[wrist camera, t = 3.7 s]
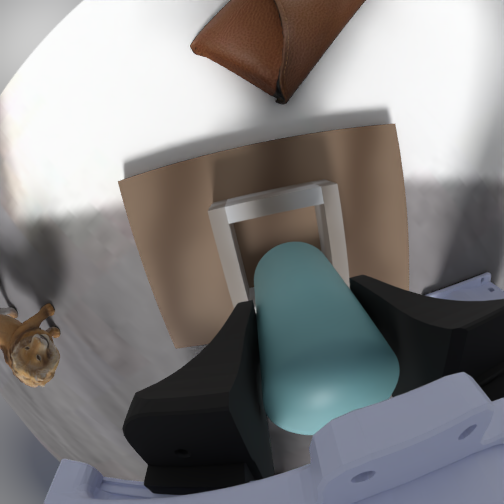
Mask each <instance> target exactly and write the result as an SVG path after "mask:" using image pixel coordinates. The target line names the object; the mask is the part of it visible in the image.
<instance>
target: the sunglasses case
mask: <svg viewBox="0 0 504 504" xmlns="http://www.w3.org/2000/svg"><path fill="white" fill-rule="evenodd" d="M365 1H366V0H230V1H229V2H228V3H227V4H226V5H225V6H224V7H223V8H222V9H221V10H220V11H219V12H218V13H217V15H216V16H215V17H214V18H213V19H212V20H211V21H210V22H209V23H208V24H207V25H206V26H205V27H204V28H203V30H202V31H201V32H200V33H199V34H198V35H197V36H196V38H195V40H194V41H193V42H192V44H191V45H190V47H191V49H192V51H193V52H194V53H195V54H196V55H200V56H203V57H207V58H209V59H211V60H212V61H214V62H216V63H218V64H220V65H221V66H223V67H225V68H227V69H228V70H230V71H232V72H234V73H235V74H237V75H238V76H241V77H242V78H243V79H245V80H247V81H249V82H250V83H251V84H253V85H255V86H256V87H258V88H260V89H261V90H263V91H264V92H266V93H268V94H269V95H271V96H274V97H276V98H277V100H276V103H279V104H286V103H287V102H288V101H289V99H290V98H291V96H292V95H293V94H294V92H295V91H296V90H297V89H298V87H299V86H300V85H301V83H302V82H303V81H304V79H305V78H306V77H307V75H308V74H309V73H310V71H311V70H312V69H313V67H314V66H315V65H316V63H317V62H318V61H319V59H320V58H321V57H322V55H323V54H324V53H325V52H326V50H327V49H328V48H329V46H330V45H331V44H332V42H333V41H334V40H335V38H336V37H337V36H338V34H339V33H340V32H341V31H342V29H343V28H344V27H345V25H346V24H347V23H348V22H349V20H350V19H351V18H352V17H353V15H354V14H355V13H356V12H357V10H358V9H359V8H360V7H361V5H362V4H363V3H364V2H365Z"/></svg>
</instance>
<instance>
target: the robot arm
mask: <svg viewBox="0 0 504 504" xmlns="http://www.w3.org/2000/svg"><path fill="white" fill-rule="evenodd" d="M490 281H491V274H490V273H489V272H486V273H484V274H481V275H479V276H476V277H474V278H471V279H468V280H466V281H463V282H460V283H458V284H455V285H452V286H449V287H447V288H444V289H441V290H438V291H435V292H432V293H429V294H426V295H421V294H417V293H413V292H410V291H407V290H404V289H401V288H398V287H395V286H393V285H390V284H387V283H385V282H382V281H380V280H377V279H375V278H372V277H369V276H366V275H359V276H355V277H351V278H349V283H350V290H351V291H352V293H353V294H354V295H355V297H356V298H357V300H358V301H359V302H360V304H361V305H362V307H363V308H364V309H365V311H366V312H367V314H368V315H369V317H370V318H371V319H372V321H373V322H374V324H375V325H376V327H377V328H378V330H379V331H380V332H381V334H382V335H383V337H384V338H385V340H386V341H387V343H388V344H389V346H390V347H391V349H392V350H393V352H394V353H395V355H396V357H397V359H398V362H399V378H398V382H397V384H396V387H395V389H394V391H393V393H392V397H393V398H390V399H387V400H384V401H381V402H378V403H375V404H372V405H369V406H366V407H362V408H359V409H356V410H353V411H350V412H348V413H346V414H344V415H341V416H339V417H337V418H334V419H332V420H331V421H330V422H328V423H327V424H326V425H325V426H324V427H322V428H321V429H320V430H319V431H317V432H316V433H315V434H314V435H313V438H312V441H311V444H310V447H309V451H310V457H311V463H310V464H307V465H305V466H302V467H299V468H296V469H293V470H290V471H287V472H284V473H281V474H278V475H275V474H274V467H273V460H272V453H271V446H270V438H269V431H268V422H267V414H266V412H265V409H264V405H263V395H262V382H261V369H260V356H259V343H258V330H257V317H256V312H255V308H254V304H253V300H249V301H244V302H239V303H237V305H236V306H235V308H234V309H233V311H232V313H231V314H230V316H229V318H228V319H227V321H226V322H225V324H224V325H223V327H222V328H221V329H220V331H219V332H218V333H217V335H216V336H215V337H214V338H213V340H212V341H211V342H210V343H209V344H208V345H207V346H206V347H205V348H204V349H203V350H202V351H201V352H200V353H199V354H198V355H197V356H196V357H195V358H193V359H192V360H191V361H190V362H188V363H187V364H186V365H185V366H183V367H182V368H181V369H179V370H178V371H176V372H175V373H173V374H172V375H170V376H168V377H167V378H165V379H163V380H162V381H160V382H158V383H156V384H154V385H152V386H150V387H147V388H145V389H143V390H141V391H139V392H136V393H135V395H134V398H133V400H132V402H131V405H130V408H129V410H128V413H127V416H126V419H125V421H124V425H123V433H124V436H125V438H126V439H127V441H128V442H129V444H130V445H131V446H132V447H133V448H134V449H135V451H136V452H137V453H138V454H139V455H140V456H141V457H142V459H143V460H144V461H145V462H146V463H147V464H148V468H147V472H146V476H145V480H144V482H141V481H132V480H123V479H116V478H109V477H103V476H102V474H101V473H100V472H99V471H98V470H97V469H96V468H94V467H93V466H91V465H89V464H87V463H84V462H78V461H73V460H69V459H62V461H61V463H60V465H59V468H58V470H57V472H56V474H55V477H54V479H53V481H52V484H51V486H50V489H49V491H48V493H47V496H46V499H45V501H44V504H504V291H503V290H502V289H500V288H499V287H497V286H496V285H495V284H493V283H492V282H490Z"/></svg>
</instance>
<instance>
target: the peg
mask: <svg viewBox="0 0 504 504" xmlns="http://www.w3.org/2000/svg"><path fill="white" fill-rule="evenodd" d="M254 291H255V304H256V317H257V330H258V343H259V356H260V369H261V382H262V395H263V405H264V409H265V412H266V414H267V416H268V417H269V419H270V420H271V421H272V422H273V423H275V424H276V425H277V426H279V427H280V428H282V429H284V430H287V431H289V432H293V433H297V434H303V435H314V434H315V433H316V432H317V431H319V430H320V429H321V428H322V427H324V426H325V425H326V424H327V423H328V422H330V421H331V420H332V419H334V418H337V417H339V416H341V415H344V414H346V413H348V412H350V411H353V410H356V409H359V408H362V407H366V406H369V405H372V404H375V403H378V402H381V401H384V400H387V399H388V398H389V397H390V396H391V394H392V393H393V391H394V389H395V387H396V384H397V382H398V378H399V362H398V359H397V357H396V355H395V353H394V352H393V350H392V349H391V347H390V346H389V344H388V343H387V341H386V340H385V338H384V337H383V335H382V334H381V332H380V331H379V330H378V328H377V327H376V325H375V324H374V322H373V321H372V319H371V318H370V317H369V315H368V314H367V312H366V311H365V309H364V308H363V307H362V305H361V304H360V302H359V301H358V300H357V298H356V297H355V295H354V294H353V293H352V291H351V290H350V289H349V287H348V286H347V284H346V283H345V282H344V280H343V279H342V278H341V276H340V275H339V274H338V272H337V271H336V270H335V268H334V267H333V266H332V264H331V263H330V262H329V260H328V259H327V258H326V256H325V255H324V254H323V253H322V252H321V251H320V250H319V249H318V248H316V247H315V246H313V245H310V244H308V243H304V242H287V243H283V244H280V245H278V246H276V247H274V248H272V249H271V250H269V251H268V252H267V253H266V254H265V255H264V256H263V257H262V258H261V260H260V261H259V263H258V265H257V267H256V270H255V274H254Z"/></svg>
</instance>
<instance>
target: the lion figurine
mask: <svg viewBox="0 0 504 504" xmlns="http://www.w3.org/2000/svg"><path fill="white" fill-rule="evenodd" d="M54 312H55V310H54V308H53V307H52V305H51V304H50V303H49V304H46V305H45V306H43V307H42V308H41V309H40V311H39V312H38V313H37V314H35V315H34V316H33V317H31V318H29V319H28V320H26V321H25V322H23V324H22V323H21V322H19V321H18V320H16V319H15V318H17V317H18V315H17V311H16V310H15V309H14V308H11V307H10V308H0V349H1V350H2V351H3V353H4V358H5V362H6V363H7V364H8V365H9V366H10V368H11V369H12V371H13V374H14V375H15V376H16V377H17V378H18V379H19V380H20V381H21V382H22V383H25V384H26V385H28V386H31V387H34V388H35V387H37V386H38V385H39V386H42V387H44V386H45V384H46V383H47V382H49V381H50V380H51V379H52V378H53V377H54V374H55V370H56V368H57V366H58V363H59V359H60V354H59V351H58V350H57V348H56V347H55V345H54V343H53V339H52V336H53V337H54V338H57V337H59V336H60V330H59V329H58V328H56V327H51V328H49V329H47V330H46V331H44V330H41V328H39V326H40V324H41V322H42V321H43V320H45V319H46V318H48V316H52V315H53V314H54ZM7 315H10V316H11V317H10V316H7Z"/></svg>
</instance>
